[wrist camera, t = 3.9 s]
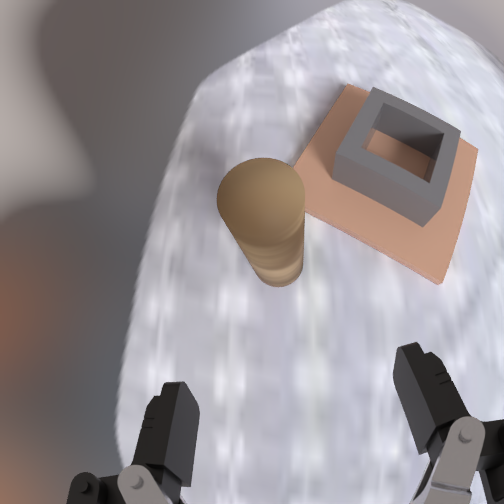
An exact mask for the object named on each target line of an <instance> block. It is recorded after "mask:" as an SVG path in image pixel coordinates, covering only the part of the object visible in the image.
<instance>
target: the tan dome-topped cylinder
mask: <svg viewBox="0 0 504 504" xmlns="http://www.w3.org/2000/svg"><path fill="white" fill-rule="evenodd" d="M217 206H218V210H219V213H220V215H221V217H222V219H223V220H224V222H225V223H226V225H227V227H228V228H229V230H230V232H231V233H232V235H233V237H234V238H235V240H236V241H237V243H238V245H239V246H240V248H241V250H242V251H243V253H244V254H245V256H246V258H247V259H248V261H249V263H250V264H251V266H252V267H253V269H254V271H255V272H256V274H257V276H258V277H259V278H260V280H261V281H263V282H264V283H265V284H267V285H270V286H273V287H283V286H287V285H289V284H291V283H293V282H294V281H295V280H296V279H297V278H298V277H299V275H300V274H301V271H302V268H303V254H304V223H305V188H304V185H303V182H302V180H301V178H300V176H299V175H298V173H297V172H296V171H295V170H294V169H293V168H292V167H291V166H289V165H288V164H286V163H284V162H282V161H279V160H276V159H272V158H255V159H251V160H248V161H245V162H243V163H240V164H239V165H237V166H235V167H234V168H233V169H232V170H230V171H229V172H228V173H227V175H226V176H225V177H224V179H223V180H222V182H221V184H220V186H219V189H218V193H217Z"/></svg>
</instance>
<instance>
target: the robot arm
mask: <svg viewBox="0 0 504 504" xmlns="http://www.w3.org/2000/svg"><path fill="white" fill-rule="evenodd" d="M393 380H394V385H395V388H396V390H397V393H398V396H399V398H400V401H401V404H402V406H403V409H404V412H405V415H406V418H407V420H408V423H409V426H410V429H411V432H412V435H413V438H414V441H415V444H416V447H417V450H418V453H419V455H420V454H423V453H426V452H428V454H429V457H430V459H429V461H428V464H427V466H426V469H425V471H424V473H423V476H422V478H421V480H420V482H419V485H418V487H417V489H416V491H415V493H414V495H413V497H412V499H411V501H410V503H409V504H469V503H470V500H471V495H472V492H471V491H470V486H471V483H472V480H473V477H474V474H475V471H479V473H480V477H481V481H482V484H483V488H484V492H485V496H486V500H487V504H504V419H502V420H496V421H489V422H482V421H480V420H478V419H477V418H474V417H472V416H471V415H470V414H469V413H468V411H467V409H466V407H465V405H464V403H463V401H462V399H461V397H460V395H459V393H458V391H457V389H456V387H455V385H454V383H453V381H451V377H450V375H449V373H447V370H446V368H445V366H444V364H443V362H442V360H441V359H440V358H438V357H437V356H436V355H435V354H433V353H432V352H429V353H426V354H424V352H423V350H422V349H421V347H420V345H419V344H418V343H417V342H414V343H411V344H407V345H404V346H400V347H398V348H397V352H396V358H395V364H394V370H393ZM199 417H200V411H199V406H198V403H197V401H196V400H195V398H194V396H193V395H192V393H191V391H190V390H189V388H188V386H187V385H186V383H185V382H166V383H164V385H163V387H162V391H161V395H160V396H154V397H153V399H152V400H151V401H150V403H149V404H148V405H147V408H146V411H145V415H144V420H143V423H142V426H141V427H142V429H141V430H140V434H139V438H138V442H137V446H136V450H135V454H134V458H133V461H132V464H131V465H130V466H128V467H126V468H125V469H123V470H122V471H121V473H120V474H119V475H115V476H109V477H101V478H97V477H95V476H94V475H93V474H91V473H88V472H83V473H80V474H78V475H77V476H75V477H74V479H73V480H72V482H71V486H70V491H69V495H68V499H67V504H187V503H186V502H185V500H184V499H183V497H182V496H181V495H180V492H181V486H183V487H191V480H192V472H193V464H194V456H195V448H196V440H197V432H198V425H199Z"/></svg>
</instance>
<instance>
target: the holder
mask: <svg viewBox="0 0 504 504" xmlns="http://www.w3.org/2000/svg"><path fill="white" fill-rule="evenodd" d="M460 133H461V131H460V130H458V129H457V128H455V127H453V126H452V125H450V124H448V123H446V122H444V121H443V120H441V119H439V118H437V117H435V116H434V115H432V114H430V113H428V112H426V111H424V110H422V109H420V108H418V107H416V106H414V105H412V104H410V103H408V102H406V101H404V100H402V99H400V98H397V97H395V96H393V95H391V94H389V93H386V92H384V91H382V90H379V89H377V88H375V87H373V88H372V90H371V92H368V91H366V90H363V89H361V88H358V87H355V86H353V85H350V84H347V86H346V87H345V89H344V90H343V92H342V93H341V95H340V96H339V98H338V99H337V101H336V102H335V104H334V105H333V107H332V108H331V110H330V111H329V113H328V115H327V116H326V118H325V119H324V121H323V122H322V124H321V125H320V127H319V128H318V130H317V131H316V133H315V134H314V136H313V138H312V139H311V141H310V142H309V144H308V145H307V147H306V148H305V150H304V151H303V153H302V155H301V156H300V158H299V159H298V161H297V162H296V164H295V165H294V167H293V169H294V170H295V171H296V172H297V173H298V175H299V176H300V178H301V180H302V182H303V185H304V188H305V212H306V213H308V214H310V215H312V216H314V217H316V218H318V219H320V220H322V221H324V222H326V223H328V224H330V225H332V226H334V227H336V228H337V229H339V230H341V231H343V232H345V233H347V234H349V235H351V236H352V237H354V238H356V239H358V240H360V241H362V242H364V243H365V244H367V245H369V246H371V247H373V248H375V249H376V250H378V251H380V252H382V253H383V254H385V255H387V256H389V257H391V258H392V259H394V260H396V261H398V262H399V263H401V264H403V265H405V266H406V267H408V268H410V269H412V270H413V271H415V272H417V273H418V274H420V275H422V276H423V277H425V278H427V279H428V280H430V281H432V282H433V283H435V284H437V285H439V284H441V283H443V280H444V277H445V275H446V272H447V269H448V266H449V263H450V260H451V257H452V254H453V251H454V248H455V245H456V242H457V239H458V235H459V232H460V228H461V225H462V221H463V218H464V214H465V210H466V206H467V202H468V198H469V194H470V189H471V185H472V180H473V175H474V170H475V164H476V159H477V153H478V149H477V148H476V147H474V146H472V145H471V144H469V143H468V142H466V141H464V140H463V139H461V138H460Z"/></svg>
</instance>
